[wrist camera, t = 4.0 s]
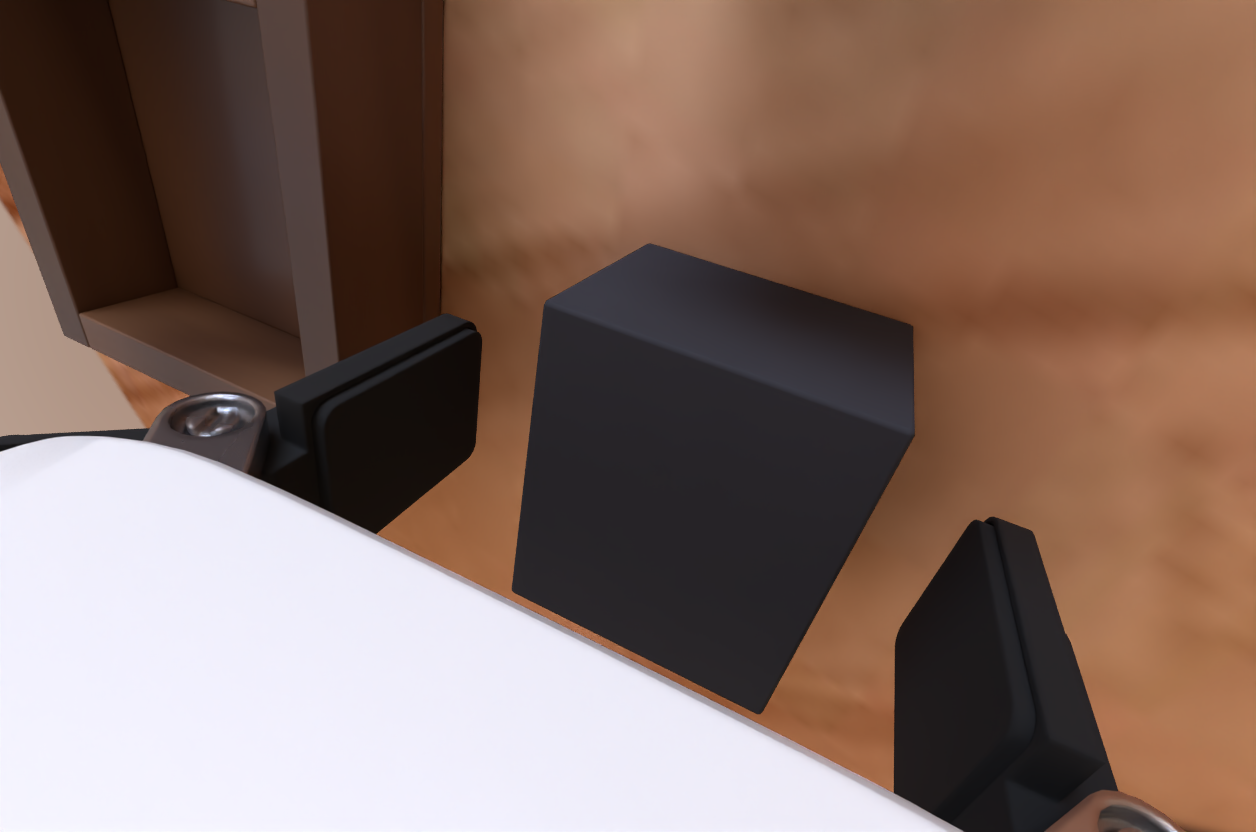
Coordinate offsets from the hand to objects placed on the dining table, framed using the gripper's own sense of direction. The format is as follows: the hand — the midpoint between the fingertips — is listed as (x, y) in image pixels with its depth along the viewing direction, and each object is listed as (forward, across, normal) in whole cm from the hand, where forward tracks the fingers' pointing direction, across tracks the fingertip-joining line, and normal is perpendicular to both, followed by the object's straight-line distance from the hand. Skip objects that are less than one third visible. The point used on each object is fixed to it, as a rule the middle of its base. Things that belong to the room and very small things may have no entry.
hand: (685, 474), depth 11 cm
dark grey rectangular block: (+2, 0, 0) cm, 2 cm away
